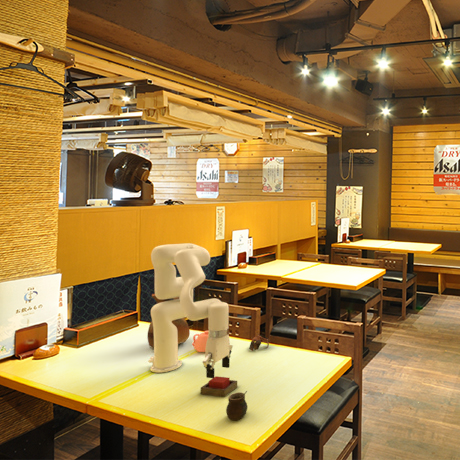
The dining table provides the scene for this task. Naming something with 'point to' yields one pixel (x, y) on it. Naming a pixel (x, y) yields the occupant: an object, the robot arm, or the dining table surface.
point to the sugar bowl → (200, 341)
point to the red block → (219, 382)
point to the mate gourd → (236, 406)
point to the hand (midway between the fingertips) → (218, 372)
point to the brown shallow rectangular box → (218, 389)
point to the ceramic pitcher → (179, 323)
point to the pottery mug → (258, 342)
